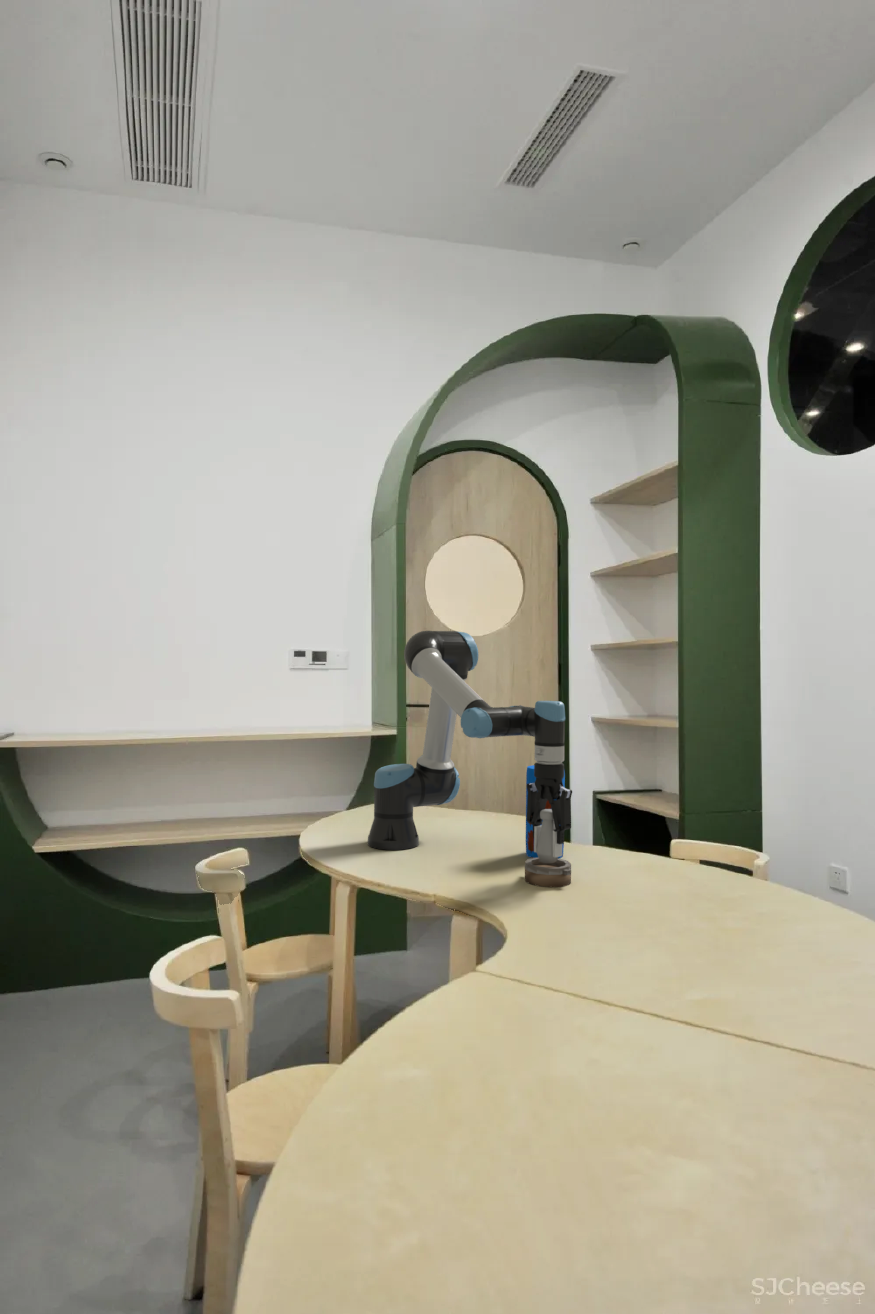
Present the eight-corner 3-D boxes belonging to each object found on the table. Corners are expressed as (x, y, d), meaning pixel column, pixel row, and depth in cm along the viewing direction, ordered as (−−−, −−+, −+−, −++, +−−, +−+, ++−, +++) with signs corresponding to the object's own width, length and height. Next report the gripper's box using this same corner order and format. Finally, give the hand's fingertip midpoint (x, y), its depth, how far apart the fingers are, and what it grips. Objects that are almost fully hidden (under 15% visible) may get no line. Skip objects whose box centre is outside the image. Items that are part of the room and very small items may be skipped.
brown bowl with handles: (511, 878, 209) (511, 860, 209) (543, 871, 217) (543, 854, 217) (552, 891, 198) (553, 872, 198) (584, 883, 206) (584, 865, 206)
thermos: (565, 860, 229) (567, 770, 229) (527, 859, 229) (528, 769, 229) (560, 850, 240) (561, 765, 240) (524, 850, 240) (525, 764, 240)
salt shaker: (535, 863, 205) (535, 811, 205) (537, 857, 211) (537, 807, 211) (558, 864, 204) (559, 812, 204) (560, 859, 210) (560, 808, 210)
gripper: (512, 759, 212) (511, 848, 212) (567, 767, 198) (565, 863, 198) (532, 757, 217) (531, 844, 217) (587, 765, 203) (586, 859, 203)
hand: (547, 853), depth 208 cm, fingers closed on salt shaker, 6 cm apart
